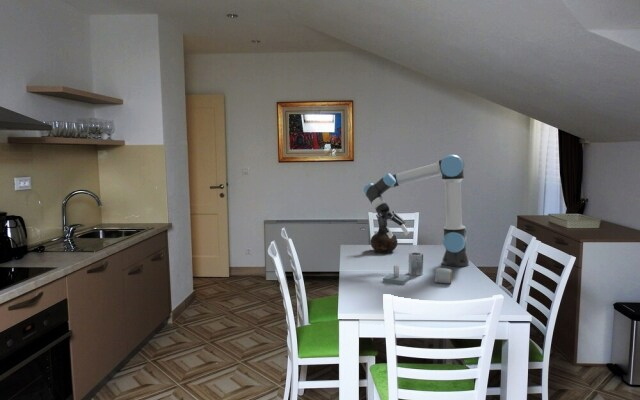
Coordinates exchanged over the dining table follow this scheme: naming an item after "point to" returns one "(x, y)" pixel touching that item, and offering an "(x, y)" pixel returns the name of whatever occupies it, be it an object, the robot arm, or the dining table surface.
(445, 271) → the ceramic mug
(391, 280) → the peg block
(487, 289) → the dining table surface
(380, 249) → the dark brown rounded piece
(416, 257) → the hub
